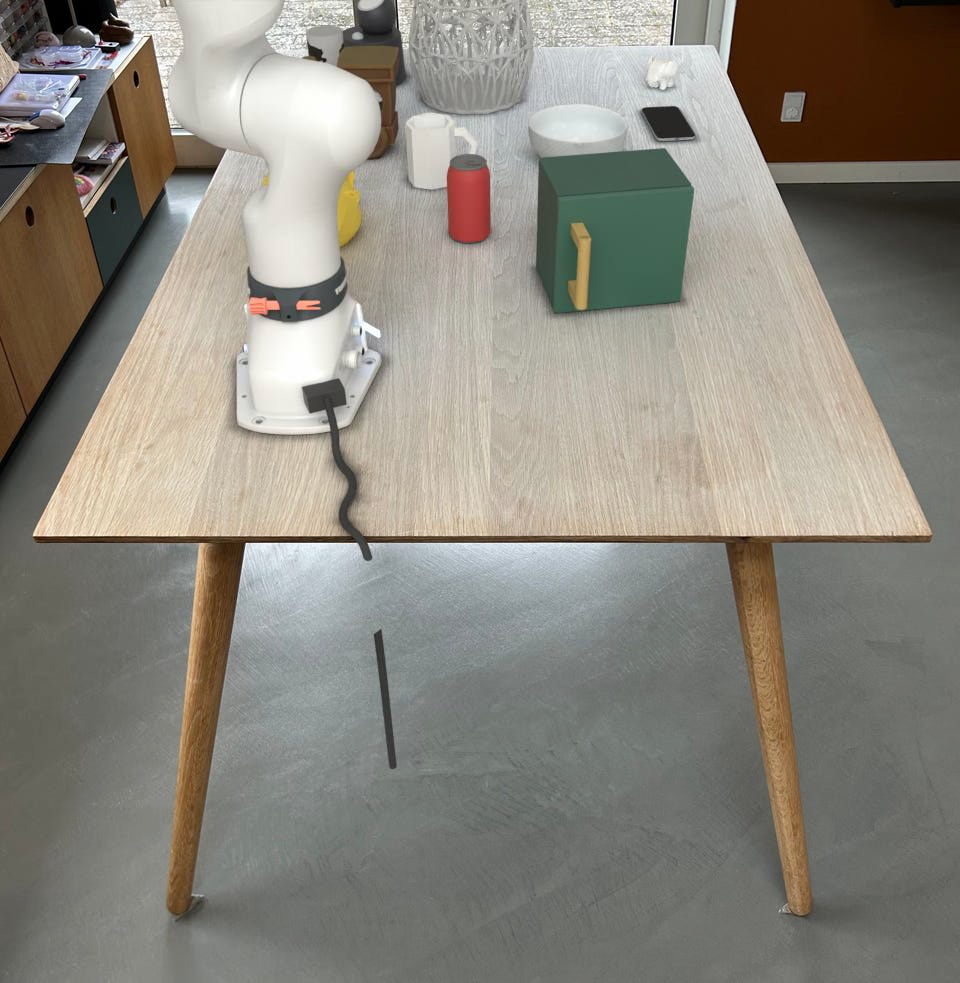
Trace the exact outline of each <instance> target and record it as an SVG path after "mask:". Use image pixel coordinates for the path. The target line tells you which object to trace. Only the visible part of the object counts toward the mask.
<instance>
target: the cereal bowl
mask: <svg viewBox="0 0 960 983" xmlns="http://www.w3.org/2000/svg"><path fill="white" fill-rule="evenodd" d="M527 127H528V128H527V129H528V138H529V143H530V145H531V147H532V149H533V150H534V152H535V153H536V154H537V155H538V156H539V158H542V157H555V156H568V155H581V154H594V153H607V152H620V151H622V149H623V147H624V144H625V141H626V136H627V131H628V123H627V121H626V119H625V118H624V117H623V116H622V115H621V114H620V113H618V112H616V111H615V110H614V111H613V110H612V109H609V108H607V107H603V106H598V105H594V104H586V103H585V104H584V103H568V104H567V103H566V104H558V105H553V106H548V107H546V108H542V109H539V110H538V111H537V112H535V113H533V114H532V115H531V117H530V118H529V119H528V124H527Z"/></svg>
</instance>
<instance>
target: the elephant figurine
mask: <svg viewBox="0 0 960 983" xmlns="http://www.w3.org/2000/svg"><path fill="white" fill-rule="evenodd" d="M678 68H679V67H678V64H677V62H676V61H675V60H666V59H663V58H656V54H652V55H651V56H650V57H649V59H648V60H647V61H646V64H645V70H646V71H647V74H646V77H645V81H646V82H647V83H648V86H649V87H650V88H655V89H658V88H659V90H660V91H664V90H666V89H667V88H672V87H673V85H674V82H675V79H676V76H677V74H678Z"/></svg>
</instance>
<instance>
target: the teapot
mask: <svg viewBox="0 0 960 983" xmlns="http://www.w3.org/2000/svg"><path fill="white" fill-rule="evenodd" d="M267 183H268V172H267V173H266V175H265V177H264V179H263V181H262V183H261V185H260V187H262V186H263V185H265V184H267ZM354 184H355V169H354V170H353V171H352V172H351V173H350V174H349V175H348V176H347V178H346V179H345V181H344V183H343V185H342V187H341V190H340V194H339V198H338V207H337V219H338V236H339V248H340V249H341V248H342V247H343V246H345V245H346V244H348V243H349V242H350V241H351V240H352V238H353V237H354V236H355V235H356V233H357V232H358V230H359V229H360V227H361V224H362V221H363V218H362V211H361V207H360V204H359V203H360V200H361V194H360V192H359V190H358V189H357V188H355V187H354Z"/></svg>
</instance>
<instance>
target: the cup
mask: <svg viewBox="0 0 960 983" xmlns="http://www.w3.org/2000/svg"><path fill="white" fill-rule="evenodd" d="M343 31H344V30H343V28H342V27H340V26H336V25H317V26H313V27H310V28H308V29H306V31H305V36H306V45H307V52H308V53H307V54H308V55H307V56H313V57H315V58H316V60H317V61H318V62H323V63H329V64H331V65H334V66H336V65H337V60H338V57H339V55H340V52H341V51H342V50H343V48H344V41H343ZM336 67H337V66H336Z"/></svg>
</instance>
